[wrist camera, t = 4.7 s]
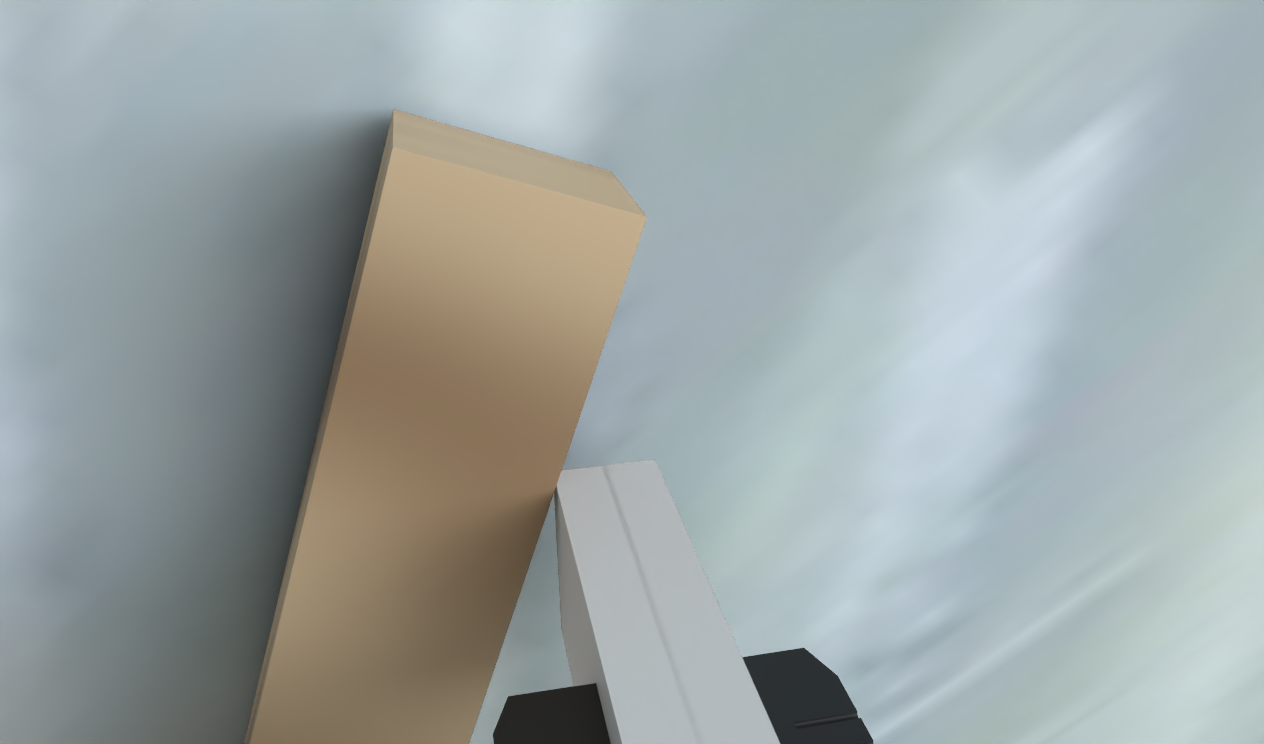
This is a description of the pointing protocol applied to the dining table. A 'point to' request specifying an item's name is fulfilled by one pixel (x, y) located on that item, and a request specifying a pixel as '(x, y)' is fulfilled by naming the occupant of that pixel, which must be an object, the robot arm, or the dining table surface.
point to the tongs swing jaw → (441, 434)
